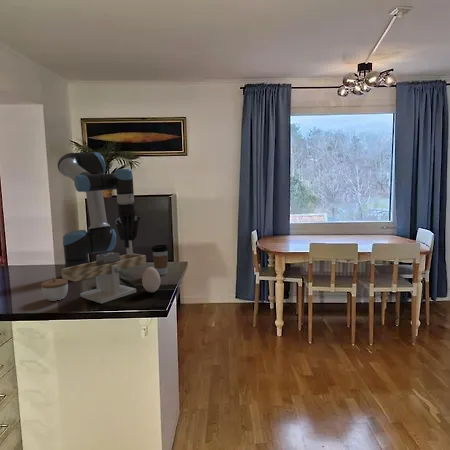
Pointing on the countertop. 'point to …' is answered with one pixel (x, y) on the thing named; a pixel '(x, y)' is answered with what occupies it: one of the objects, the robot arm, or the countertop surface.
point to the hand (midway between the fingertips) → (129, 254)
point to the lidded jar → (55, 289)
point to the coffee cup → (160, 258)
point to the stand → (108, 287)
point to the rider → (107, 258)
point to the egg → (151, 279)
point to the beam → (101, 267)
